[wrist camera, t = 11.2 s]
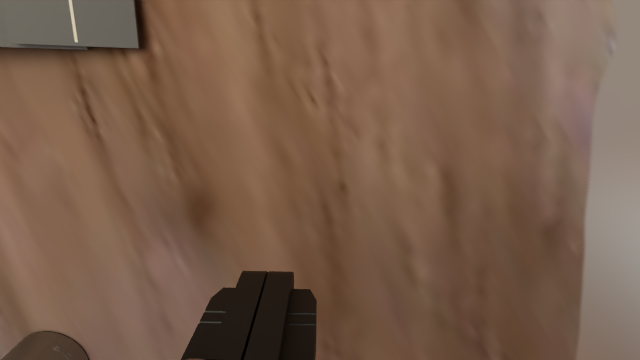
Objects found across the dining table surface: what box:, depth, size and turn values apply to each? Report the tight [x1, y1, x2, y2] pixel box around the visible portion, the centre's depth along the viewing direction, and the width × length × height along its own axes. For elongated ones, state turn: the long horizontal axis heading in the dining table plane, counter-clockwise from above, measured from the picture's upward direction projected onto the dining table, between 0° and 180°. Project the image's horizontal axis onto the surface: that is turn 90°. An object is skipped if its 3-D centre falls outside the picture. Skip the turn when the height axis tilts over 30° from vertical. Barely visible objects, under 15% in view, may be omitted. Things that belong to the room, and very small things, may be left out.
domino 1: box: [0, 0, 90, 50], centre depth 34 cm, size 2×5×10 cm
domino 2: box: [1, 0, 140, 49], centre depth 34 cm, size 2×5×10 cm
